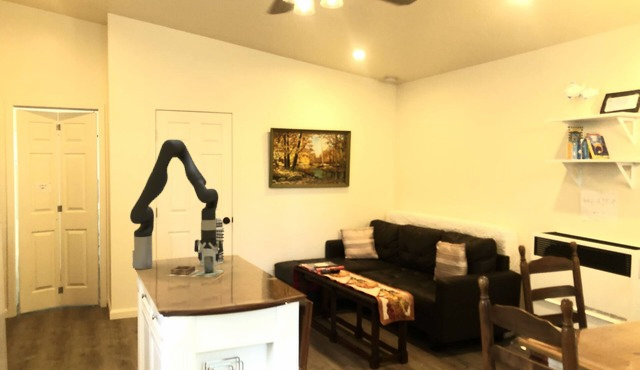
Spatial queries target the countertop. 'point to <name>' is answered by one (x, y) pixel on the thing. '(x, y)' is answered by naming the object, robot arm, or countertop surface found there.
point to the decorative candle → (219, 238)
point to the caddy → (192, 272)
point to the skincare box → (208, 253)
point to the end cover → (208, 264)
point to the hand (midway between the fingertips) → (208, 260)
